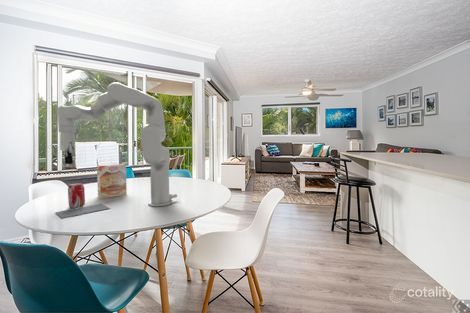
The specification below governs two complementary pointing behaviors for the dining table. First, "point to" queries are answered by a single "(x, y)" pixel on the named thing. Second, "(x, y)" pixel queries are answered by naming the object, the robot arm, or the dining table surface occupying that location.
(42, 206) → the dining table surface
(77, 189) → the soda can
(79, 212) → the mat
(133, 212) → the dining table surface
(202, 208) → the dining table surface
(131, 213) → the dining table surface
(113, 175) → the coffeecake box
